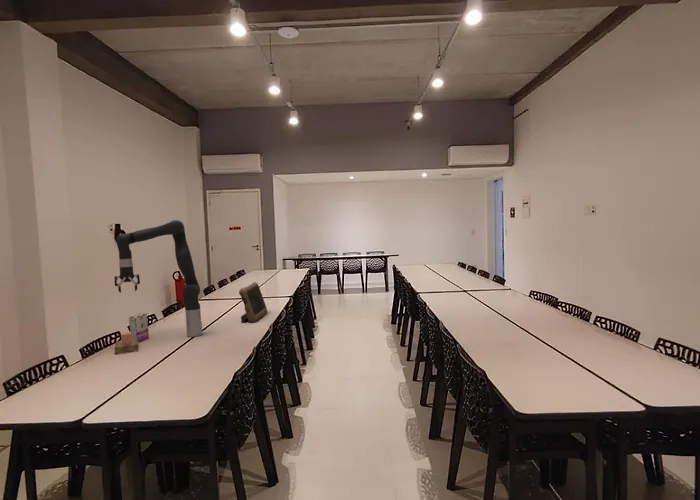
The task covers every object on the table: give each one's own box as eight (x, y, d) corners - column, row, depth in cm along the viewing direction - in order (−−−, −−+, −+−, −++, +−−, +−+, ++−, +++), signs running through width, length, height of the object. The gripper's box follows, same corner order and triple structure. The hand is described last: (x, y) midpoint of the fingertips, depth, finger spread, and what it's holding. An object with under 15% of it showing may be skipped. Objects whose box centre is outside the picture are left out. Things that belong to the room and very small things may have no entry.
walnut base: (138, 345, 270) (137, 339, 269) (138, 351, 259) (138, 344, 259) (116, 349, 265) (115, 342, 264) (115, 354, 254) (114, 347, 253)
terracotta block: (131, 341, 265) (130, 331, 264) (131, 343, 260) (130, 333, 260) (122, 343, 263) (121, 332, 262) (121, 345, 258) (120, 334, 258)
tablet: (259, 323, 318) (257, 288, 316) (239, 323, 318) (237, 288, 316) (267, 313, 350) (266, 281, 348) (250, 313, 350) (248, 282, 348)
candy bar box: (142, 338, 288) (140, 312, 287) (149, 338, 287) (147, 313, 286) (130, 343, 277) (128, 317, 276) (137, 343, 276) (135, 317, 275)
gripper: (138, 264, 286) (140, 289, 287) (113, 266, 280) (115, 292, 281) (138, 265, 280) (140, 291, 281) (113, 267, 273) (115, 293, 274)
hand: (128, 291), depth 281 cm, fingers open, 8 cm apart
